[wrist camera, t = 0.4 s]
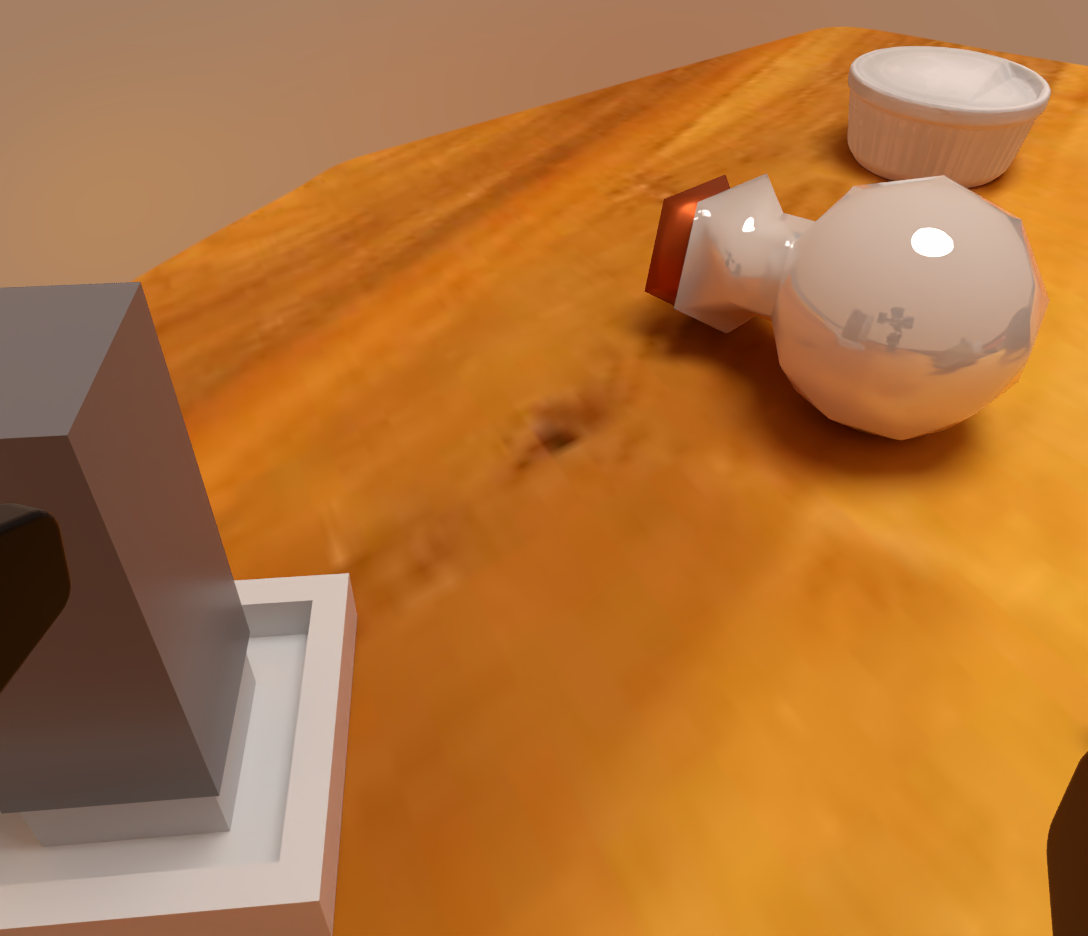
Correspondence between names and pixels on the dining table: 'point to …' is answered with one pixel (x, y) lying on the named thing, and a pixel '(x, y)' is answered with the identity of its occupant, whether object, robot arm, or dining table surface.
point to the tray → (259, 814)
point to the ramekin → (940, 113)
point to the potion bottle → (864, 294)
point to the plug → (116, 583)
